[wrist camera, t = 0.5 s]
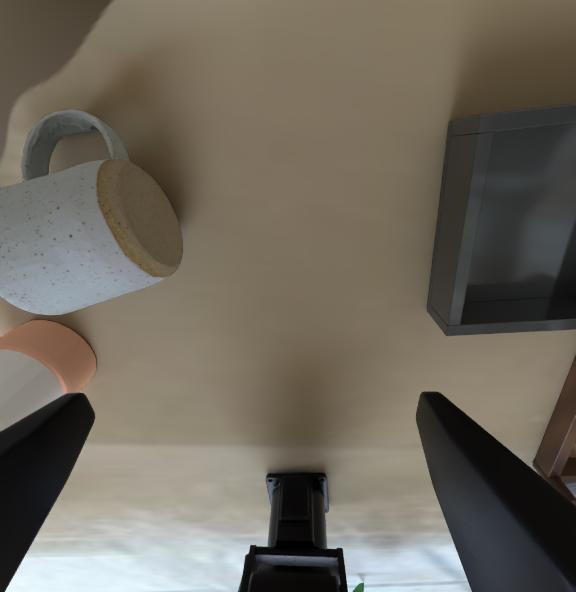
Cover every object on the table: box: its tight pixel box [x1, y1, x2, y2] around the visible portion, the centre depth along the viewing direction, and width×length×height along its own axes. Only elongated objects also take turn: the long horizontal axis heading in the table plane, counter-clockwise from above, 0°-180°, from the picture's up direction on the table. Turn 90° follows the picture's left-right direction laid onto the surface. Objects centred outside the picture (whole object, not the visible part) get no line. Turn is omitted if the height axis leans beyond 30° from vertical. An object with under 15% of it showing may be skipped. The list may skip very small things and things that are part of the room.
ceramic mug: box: [0, 109, 183, 315], centre depth 17 cm, size 11×8×8 cm
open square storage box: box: [427, 104, 576, 336], centre depth 18 cm, size 13×12×4 cm
